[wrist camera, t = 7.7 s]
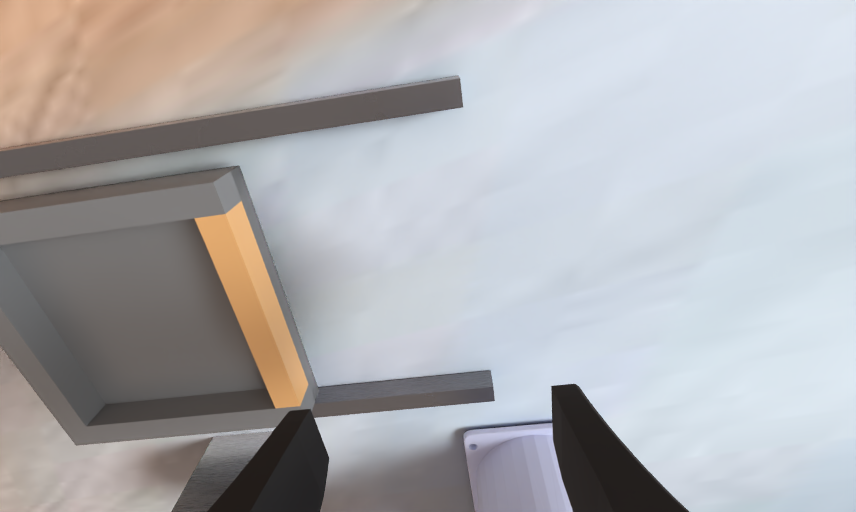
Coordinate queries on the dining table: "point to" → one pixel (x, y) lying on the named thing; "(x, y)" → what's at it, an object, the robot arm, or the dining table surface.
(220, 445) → the metal part
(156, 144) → the track
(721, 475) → the dining table surface
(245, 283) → the grey shallow tray
